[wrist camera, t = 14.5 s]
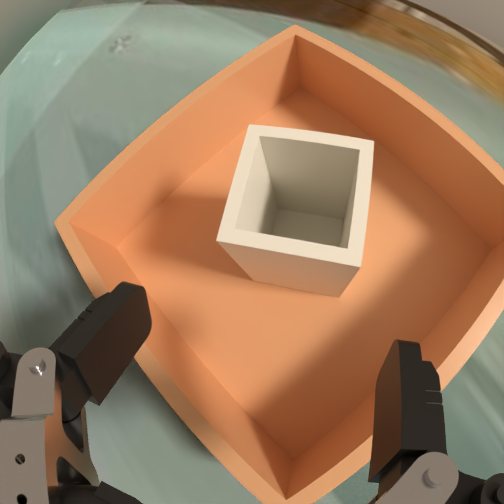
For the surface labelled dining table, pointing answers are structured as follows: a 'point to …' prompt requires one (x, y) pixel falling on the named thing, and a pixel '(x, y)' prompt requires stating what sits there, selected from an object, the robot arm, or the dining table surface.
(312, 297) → the large crate
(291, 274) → the small crate
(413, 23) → the dining table surface
